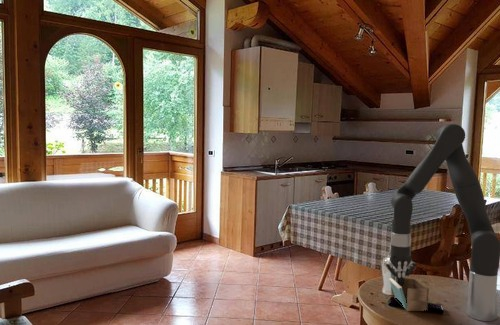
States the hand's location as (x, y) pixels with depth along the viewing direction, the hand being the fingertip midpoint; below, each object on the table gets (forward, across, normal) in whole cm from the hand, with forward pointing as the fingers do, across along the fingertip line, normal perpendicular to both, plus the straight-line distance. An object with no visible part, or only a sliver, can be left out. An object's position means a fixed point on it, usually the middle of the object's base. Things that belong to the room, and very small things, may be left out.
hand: (400, 285), depth 166 cm
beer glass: (+8, +1, +12) cm, 15 cm away
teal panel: (+8, 0, 0) cm, 8 cm away
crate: (+8, +4, 0) cm, 9 cm away
